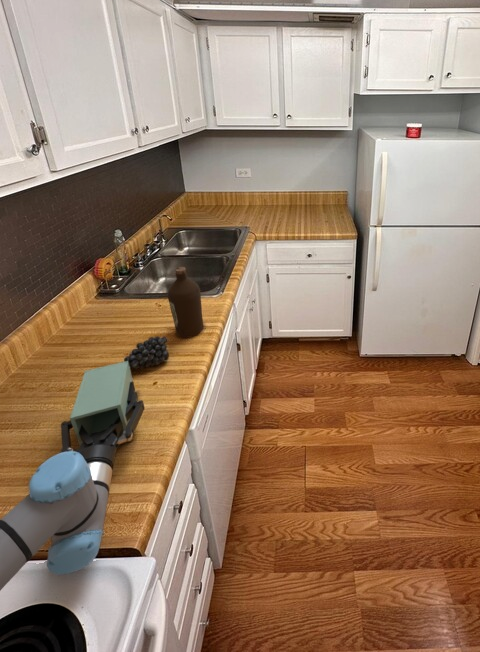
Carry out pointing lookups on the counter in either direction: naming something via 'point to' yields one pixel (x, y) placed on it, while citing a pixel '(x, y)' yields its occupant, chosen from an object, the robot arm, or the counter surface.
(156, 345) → the fruit
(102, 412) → the open box
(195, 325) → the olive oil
